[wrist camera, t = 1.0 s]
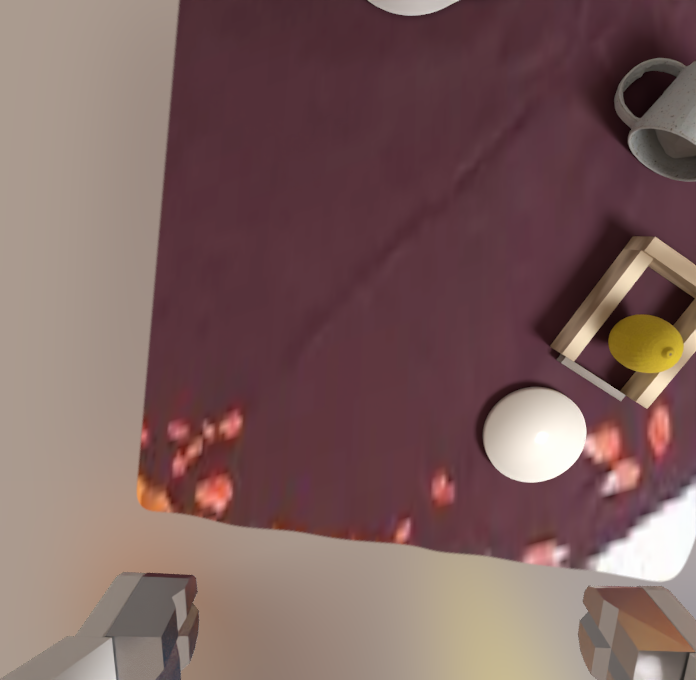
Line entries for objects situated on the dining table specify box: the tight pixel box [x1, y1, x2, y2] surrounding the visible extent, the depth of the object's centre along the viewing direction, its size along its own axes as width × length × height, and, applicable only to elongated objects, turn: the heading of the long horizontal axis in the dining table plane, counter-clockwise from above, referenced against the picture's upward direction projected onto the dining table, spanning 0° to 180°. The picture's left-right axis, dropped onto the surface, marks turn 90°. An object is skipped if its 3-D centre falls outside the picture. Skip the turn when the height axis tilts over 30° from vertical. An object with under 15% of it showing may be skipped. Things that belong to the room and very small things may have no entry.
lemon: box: [608, 315, 684, 373], centre depth 45 cm, size 6×6×8 cm
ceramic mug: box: [614, 58, 696, 181], centre depth 40 cm, size 11×8×8 cm
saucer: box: [482, 387, 586, 482], centre depth 51 cm, size 11×11×1 cm
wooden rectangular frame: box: [550, 236, 696, 408], centre depth 47 cm, size 14×11×4 cm
